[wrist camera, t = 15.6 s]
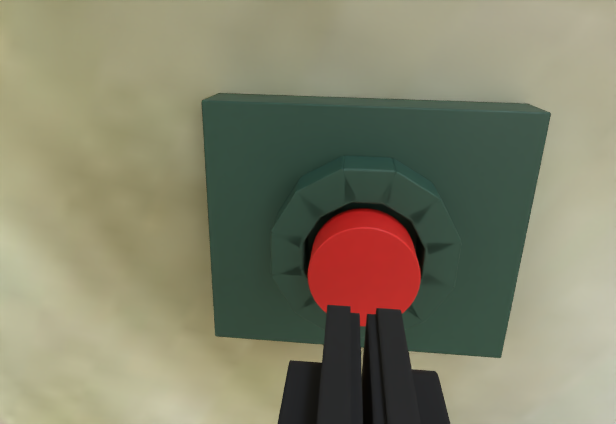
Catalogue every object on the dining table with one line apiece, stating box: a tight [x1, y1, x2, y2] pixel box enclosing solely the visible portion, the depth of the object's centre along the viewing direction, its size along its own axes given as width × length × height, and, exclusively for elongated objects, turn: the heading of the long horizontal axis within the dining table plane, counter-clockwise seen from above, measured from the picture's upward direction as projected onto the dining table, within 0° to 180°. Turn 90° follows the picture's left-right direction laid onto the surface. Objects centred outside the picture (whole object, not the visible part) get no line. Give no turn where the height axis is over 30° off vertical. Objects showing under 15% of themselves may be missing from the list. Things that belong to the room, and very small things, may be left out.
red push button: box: [308, 208, 421, 326], centre depth 16 cm, size 4×4×2 cm
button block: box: [202, 93, 551, 358], centre depth 18 cm, size 12×10×4 cm
